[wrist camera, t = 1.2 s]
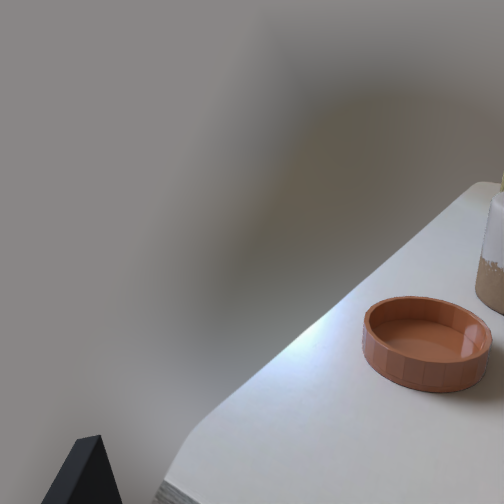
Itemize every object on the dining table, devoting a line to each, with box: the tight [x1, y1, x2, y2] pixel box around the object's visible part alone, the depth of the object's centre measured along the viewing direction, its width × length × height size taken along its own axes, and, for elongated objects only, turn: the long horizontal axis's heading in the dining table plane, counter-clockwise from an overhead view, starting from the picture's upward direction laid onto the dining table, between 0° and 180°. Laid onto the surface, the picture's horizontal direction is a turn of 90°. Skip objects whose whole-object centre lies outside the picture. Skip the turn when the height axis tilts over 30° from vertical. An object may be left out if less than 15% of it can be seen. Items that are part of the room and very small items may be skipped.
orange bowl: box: [362, 296, 492, 393], centre depth 56 cm, size 14×14×4 cm
